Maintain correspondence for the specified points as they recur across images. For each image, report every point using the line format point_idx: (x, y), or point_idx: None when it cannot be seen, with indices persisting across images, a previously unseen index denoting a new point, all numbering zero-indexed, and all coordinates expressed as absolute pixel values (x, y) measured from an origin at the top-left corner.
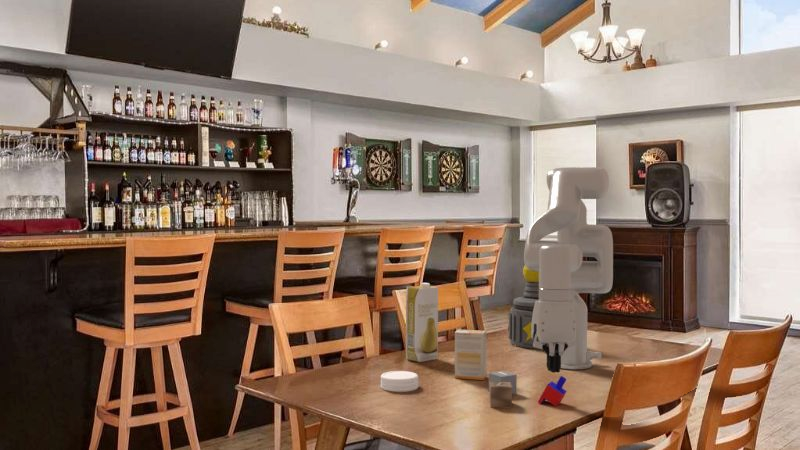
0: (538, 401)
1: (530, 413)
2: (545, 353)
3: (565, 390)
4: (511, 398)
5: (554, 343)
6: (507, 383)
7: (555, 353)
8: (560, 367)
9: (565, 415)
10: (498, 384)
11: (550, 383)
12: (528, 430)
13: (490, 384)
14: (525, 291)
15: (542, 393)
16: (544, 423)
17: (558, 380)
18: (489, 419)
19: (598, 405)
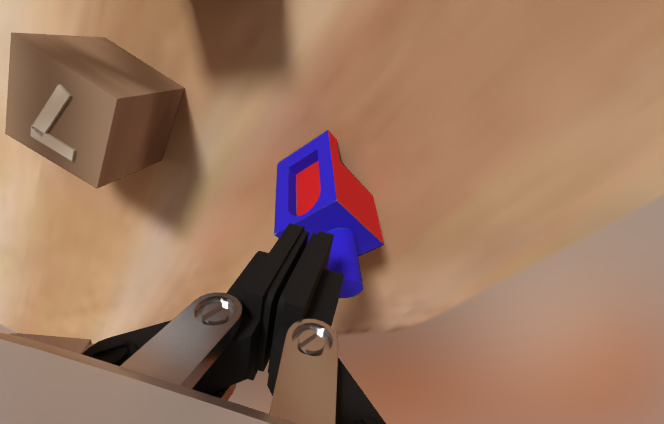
0: (278, 167)
1: (195, 239)
2: (207, 299)
3: (378, 242)
4: (134, 170)
5: (269, 413)
6: (95, 117)
7: (271, 367)
8: (337, 302)
9: None
10: (43, 122)
11: (305, 222)
12: (130, 330)
13: (8, 94)
14: None
15: (276, 195)
16: None
17: (328, 264)
18: (59, 223)
19: (480, 291)
